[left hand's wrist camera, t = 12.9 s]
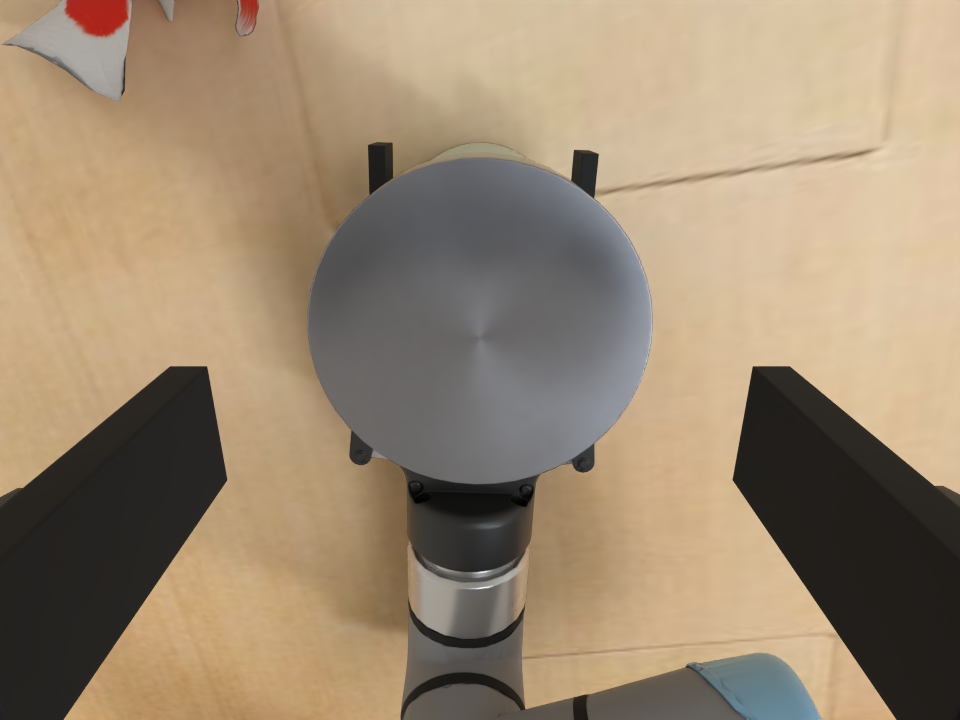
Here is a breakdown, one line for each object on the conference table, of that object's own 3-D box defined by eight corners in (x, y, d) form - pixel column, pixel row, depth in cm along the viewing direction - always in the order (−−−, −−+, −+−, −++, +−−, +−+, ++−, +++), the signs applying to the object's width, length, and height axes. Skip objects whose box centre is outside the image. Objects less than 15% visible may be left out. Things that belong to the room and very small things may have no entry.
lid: (523, 491, 23) (528, 533, 21) (275, 358, 21) (250, 388, 19) (696, 264, 20) (725, 284, 18) (423, 82, 18) (415, 78, 16)
